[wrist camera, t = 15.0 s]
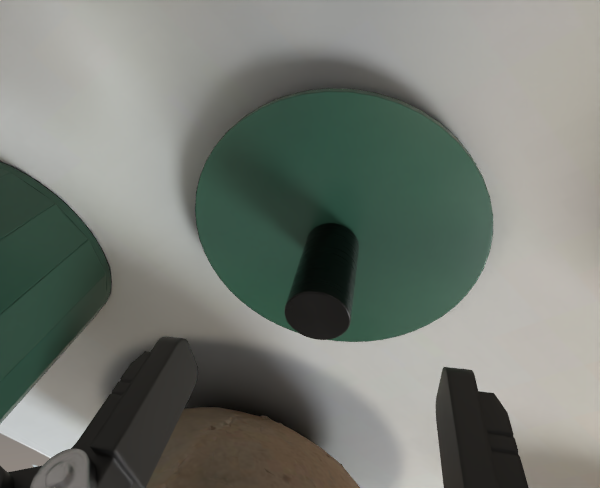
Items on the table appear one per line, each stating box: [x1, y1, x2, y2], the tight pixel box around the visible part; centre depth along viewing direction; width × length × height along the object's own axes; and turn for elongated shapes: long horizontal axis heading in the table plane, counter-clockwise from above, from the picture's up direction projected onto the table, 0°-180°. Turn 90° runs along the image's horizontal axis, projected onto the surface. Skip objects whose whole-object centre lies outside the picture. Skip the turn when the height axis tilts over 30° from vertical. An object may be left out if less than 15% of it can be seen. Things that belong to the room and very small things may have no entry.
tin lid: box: [195, 88, 493, 342], centre depth 15 cm, size 13×13×6 cm
